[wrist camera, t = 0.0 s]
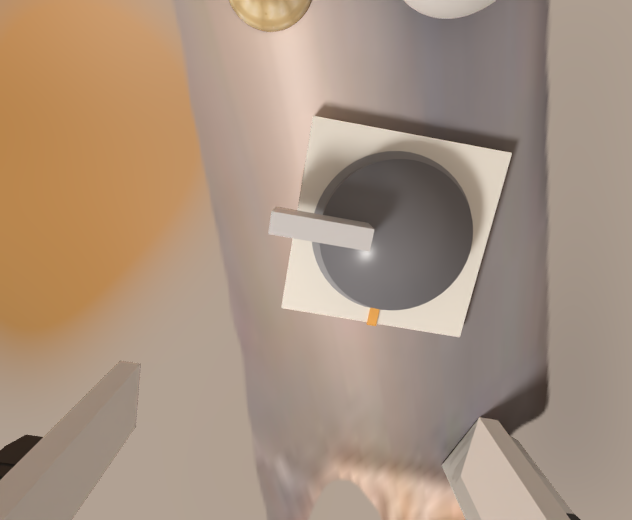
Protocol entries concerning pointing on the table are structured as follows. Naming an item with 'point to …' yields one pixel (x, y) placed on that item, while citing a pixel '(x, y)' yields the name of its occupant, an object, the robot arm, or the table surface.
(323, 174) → the dial plate
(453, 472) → the skincare box
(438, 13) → the decorative ball
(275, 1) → the hand bell
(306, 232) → the dial
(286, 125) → the table surface
